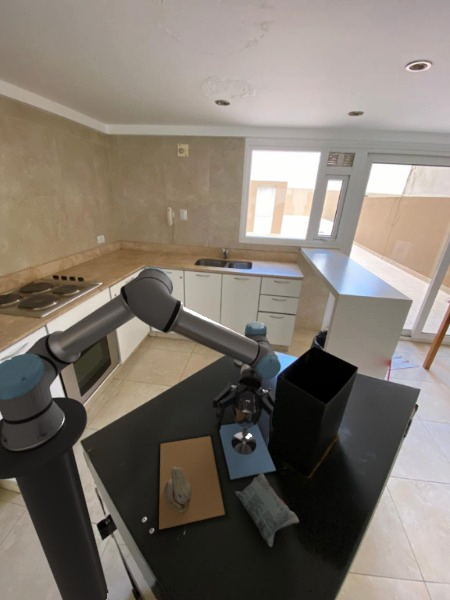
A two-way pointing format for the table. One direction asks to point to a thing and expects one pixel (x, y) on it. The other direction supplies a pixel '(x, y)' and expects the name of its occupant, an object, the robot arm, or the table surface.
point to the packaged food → (265, 508)
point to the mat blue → (245, 463)
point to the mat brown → (190, 481)
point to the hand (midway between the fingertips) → (244, 431)
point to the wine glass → (246, 420)
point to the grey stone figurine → (178, 491)
